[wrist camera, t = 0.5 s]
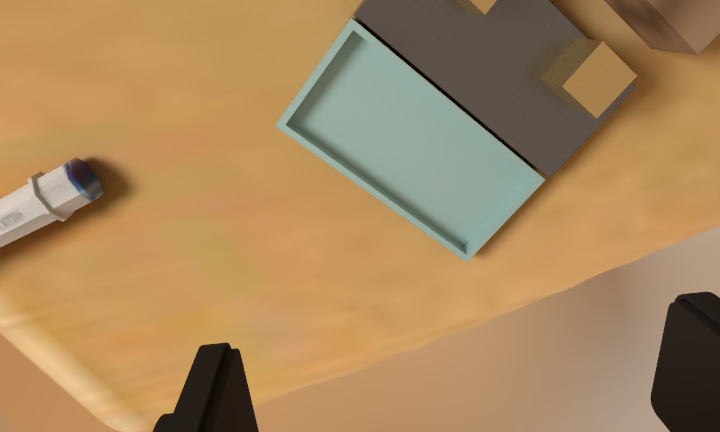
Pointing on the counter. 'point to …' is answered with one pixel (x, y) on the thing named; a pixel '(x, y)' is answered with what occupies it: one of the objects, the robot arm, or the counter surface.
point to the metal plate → (494, 67)
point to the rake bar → (672, 22)
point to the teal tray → (407, 143)
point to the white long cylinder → (47, 199)
